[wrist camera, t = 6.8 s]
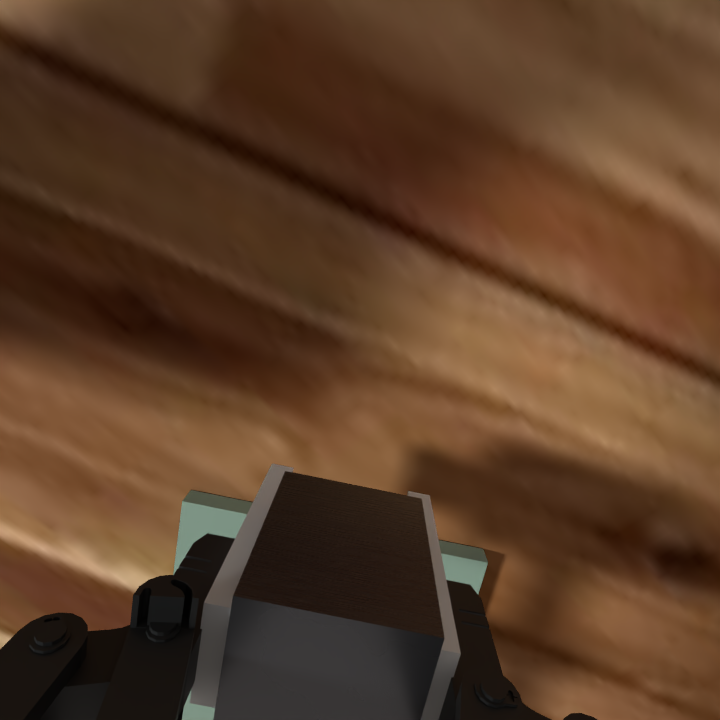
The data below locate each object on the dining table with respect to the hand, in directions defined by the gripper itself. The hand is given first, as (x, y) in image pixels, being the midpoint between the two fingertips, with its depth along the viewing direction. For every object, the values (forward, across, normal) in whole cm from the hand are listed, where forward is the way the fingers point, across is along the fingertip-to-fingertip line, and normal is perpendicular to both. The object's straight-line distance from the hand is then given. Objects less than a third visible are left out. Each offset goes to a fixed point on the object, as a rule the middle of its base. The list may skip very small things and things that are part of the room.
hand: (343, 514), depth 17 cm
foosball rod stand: (+4, 0, -9) cm, 9 cm away
